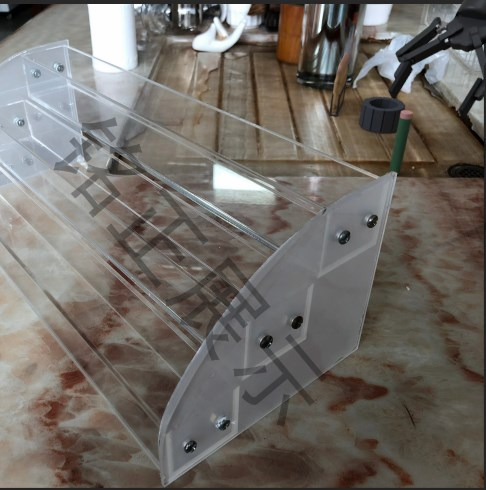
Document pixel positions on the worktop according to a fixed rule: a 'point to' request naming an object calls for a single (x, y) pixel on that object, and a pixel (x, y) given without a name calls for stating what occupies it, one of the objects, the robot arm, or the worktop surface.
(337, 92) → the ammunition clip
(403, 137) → the pencil
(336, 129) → the worktop surface
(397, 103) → the grooved round container
